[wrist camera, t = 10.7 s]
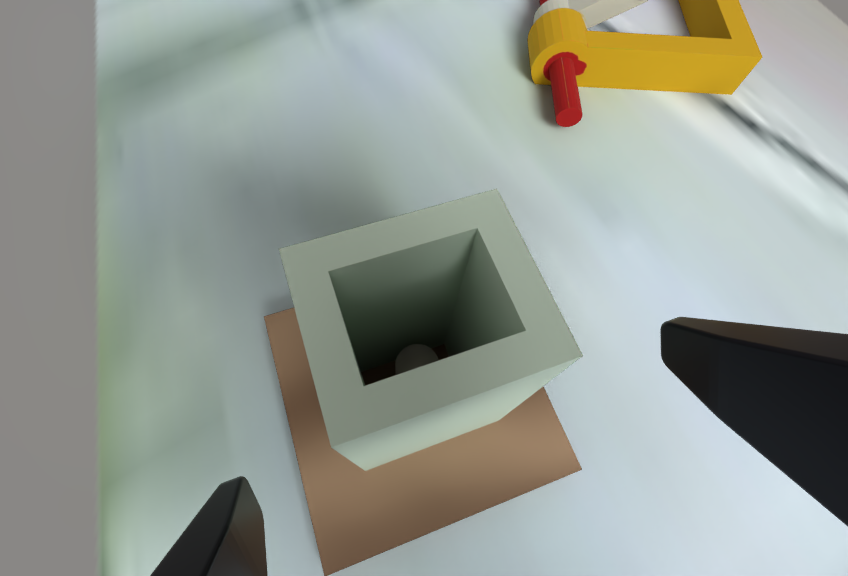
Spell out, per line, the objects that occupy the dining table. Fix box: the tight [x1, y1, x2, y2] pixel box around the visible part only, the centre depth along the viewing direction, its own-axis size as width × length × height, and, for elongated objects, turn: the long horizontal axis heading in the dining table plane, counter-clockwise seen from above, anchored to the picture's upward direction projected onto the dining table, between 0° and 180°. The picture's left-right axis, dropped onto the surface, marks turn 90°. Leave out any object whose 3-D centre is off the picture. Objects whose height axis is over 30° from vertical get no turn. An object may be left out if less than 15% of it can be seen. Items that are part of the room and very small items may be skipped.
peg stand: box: [264, 308, 582, 576], centre depth 19 cm, size 11×11×5 cm
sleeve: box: [279, 189, 583, 471], centre depth 15 cm, size 5×6×10 cm
